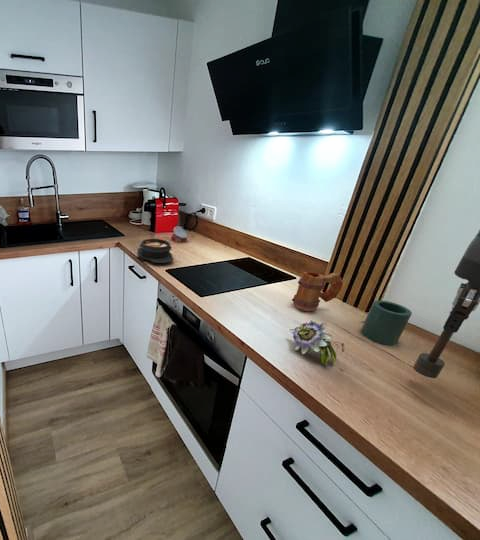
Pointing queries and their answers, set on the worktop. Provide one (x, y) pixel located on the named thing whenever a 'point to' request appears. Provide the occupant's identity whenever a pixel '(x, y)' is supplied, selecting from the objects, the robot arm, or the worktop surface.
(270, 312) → the worktop surface
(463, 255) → the robot arm
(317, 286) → the mug
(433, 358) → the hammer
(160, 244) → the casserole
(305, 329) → the passion flower
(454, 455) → the worktop surface
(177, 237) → the canned food
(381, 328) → the green pencil cup
